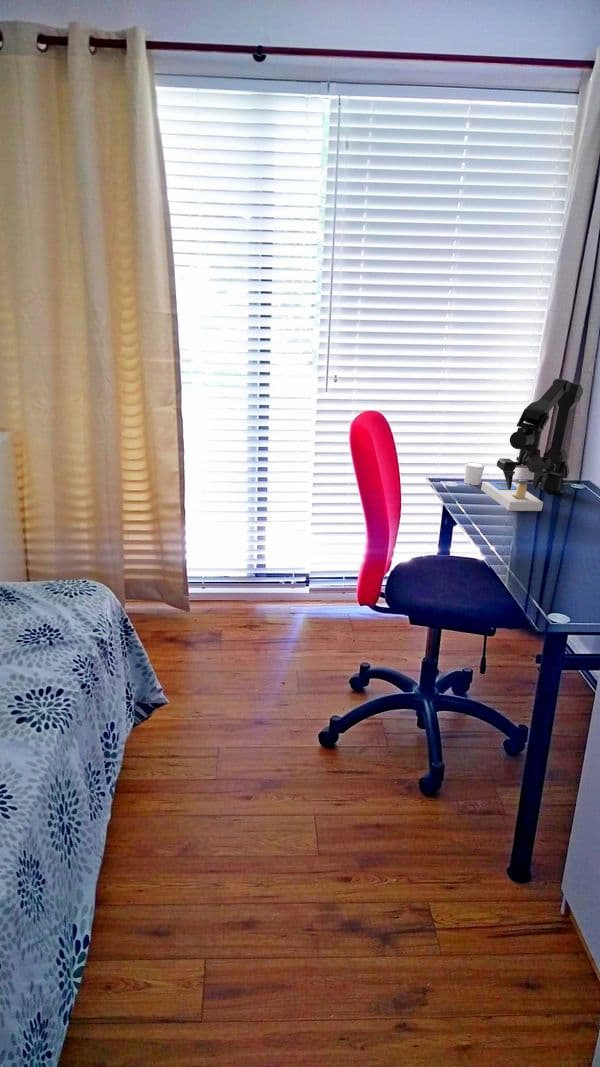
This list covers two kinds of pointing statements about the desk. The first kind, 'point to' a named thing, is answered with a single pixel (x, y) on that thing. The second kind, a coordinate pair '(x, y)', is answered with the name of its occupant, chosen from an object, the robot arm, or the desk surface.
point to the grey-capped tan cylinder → (521, 489)
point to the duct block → (511, 497)
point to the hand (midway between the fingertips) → (521, 489)
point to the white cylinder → (473, 473)
